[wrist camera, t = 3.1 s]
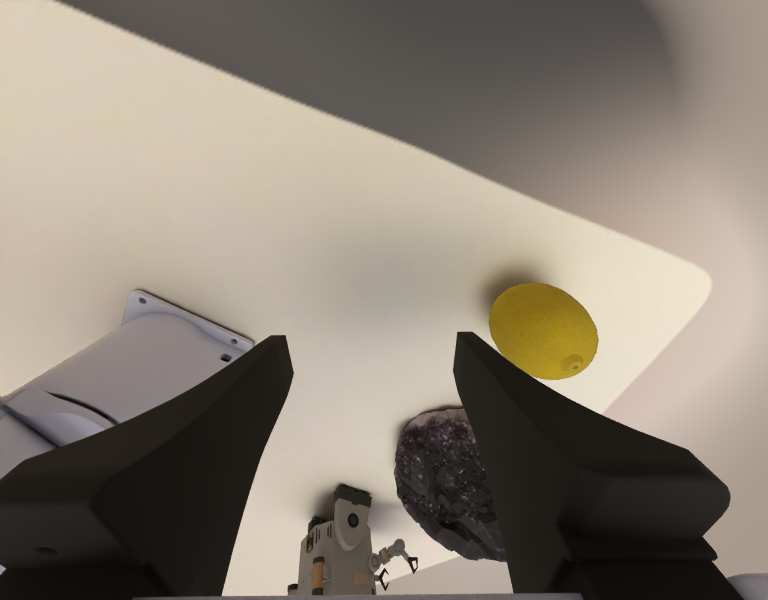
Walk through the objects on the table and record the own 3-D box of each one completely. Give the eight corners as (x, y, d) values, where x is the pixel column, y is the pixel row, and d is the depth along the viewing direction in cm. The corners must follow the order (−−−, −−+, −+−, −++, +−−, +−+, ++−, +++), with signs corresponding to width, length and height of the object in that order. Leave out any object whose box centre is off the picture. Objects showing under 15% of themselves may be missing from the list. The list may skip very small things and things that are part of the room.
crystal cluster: (368, 457, 31) (366, 583, 22) (431, 383, 24) (462, 519, 16) (464, 479, 34) (495, 594, 26) (541, 419, 28) (615, 545, 19)
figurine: (377, 538, 37) (375, 751, 23) (298, 516, 34) (244, 741, 21) (413, 505, 33) (434, 732, 20) (328, 477, 31) (287, 717, 17)
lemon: (549, 260, 20) (644, 313, 13) (544, 324, 22) (621, 399, 15) (472, 274, 20) (523, 332, 13) (476, 335, 23) (520, 413, 15)
